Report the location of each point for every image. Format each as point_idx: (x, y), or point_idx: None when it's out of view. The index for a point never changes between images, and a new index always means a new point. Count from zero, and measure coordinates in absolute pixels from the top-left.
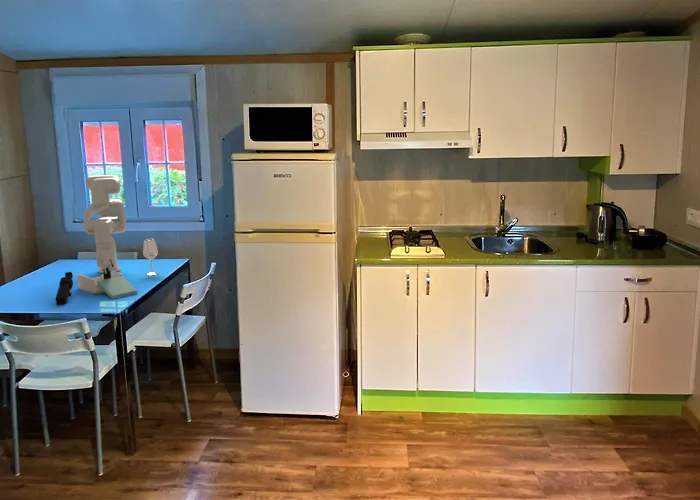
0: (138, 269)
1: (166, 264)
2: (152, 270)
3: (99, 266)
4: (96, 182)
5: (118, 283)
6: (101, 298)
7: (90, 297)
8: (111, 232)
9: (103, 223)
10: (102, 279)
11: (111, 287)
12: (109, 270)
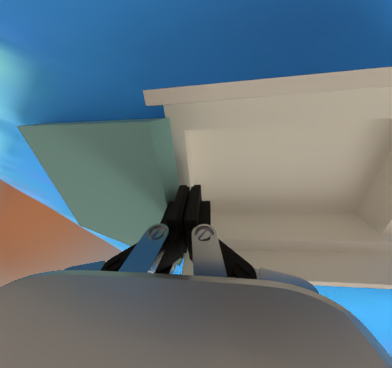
0: (370, 318)
1: None
2: None
3: (209, 295)
4: None
5: (116, 212)
6: (81, 89)
7: (137, 42)
8: None
9: None
10: (365, 221)
11: (78, 163)
12: (79, 268)
